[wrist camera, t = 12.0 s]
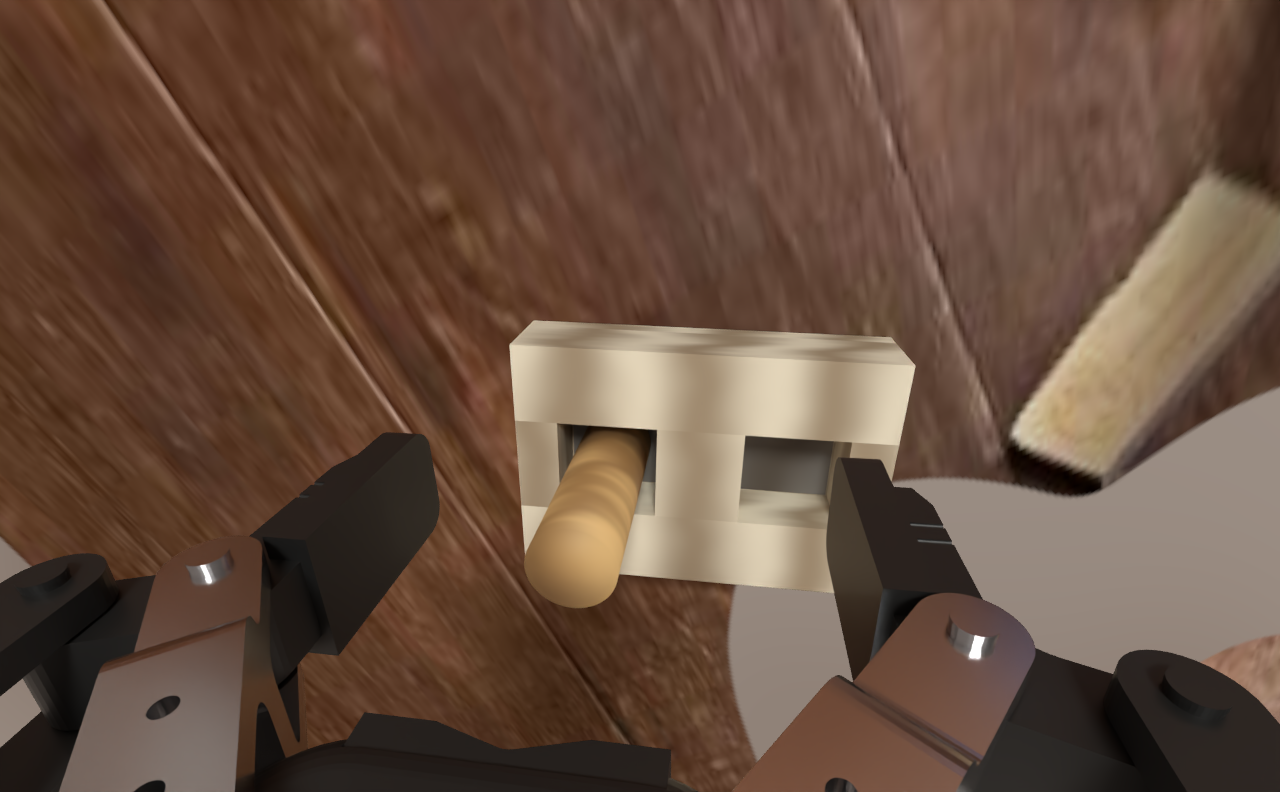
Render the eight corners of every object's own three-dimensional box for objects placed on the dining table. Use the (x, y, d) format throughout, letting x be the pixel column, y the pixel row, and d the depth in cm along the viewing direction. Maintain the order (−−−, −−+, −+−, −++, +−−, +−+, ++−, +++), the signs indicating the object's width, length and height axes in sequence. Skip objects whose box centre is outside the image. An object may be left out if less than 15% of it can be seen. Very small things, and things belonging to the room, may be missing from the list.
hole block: (890, 337, 33) (915, 365, 29) (851, 547, 39) (867, 596, 34) (533, 320, 35) (509, 344, 31) (545, 522, 41) (526, 565, 36)
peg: (652, 414, 35) (619, 534, 24) (649, 474, 37) (617, 613, 26) (584, 408, 36) (522, 524, 25) (584, 468, 37) (526, 602, 26)
